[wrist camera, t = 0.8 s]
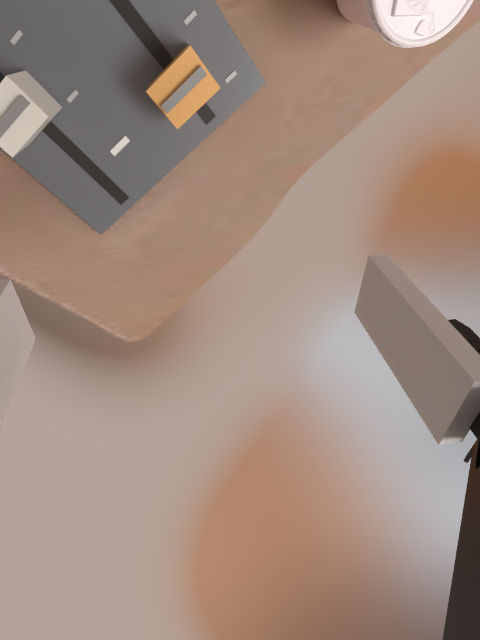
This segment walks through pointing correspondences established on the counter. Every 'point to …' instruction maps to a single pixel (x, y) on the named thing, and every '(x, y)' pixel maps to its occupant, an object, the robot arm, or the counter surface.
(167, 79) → the orange fader
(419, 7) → the smoothie
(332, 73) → the counter surface
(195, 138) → the fader board
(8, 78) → the cream fader
